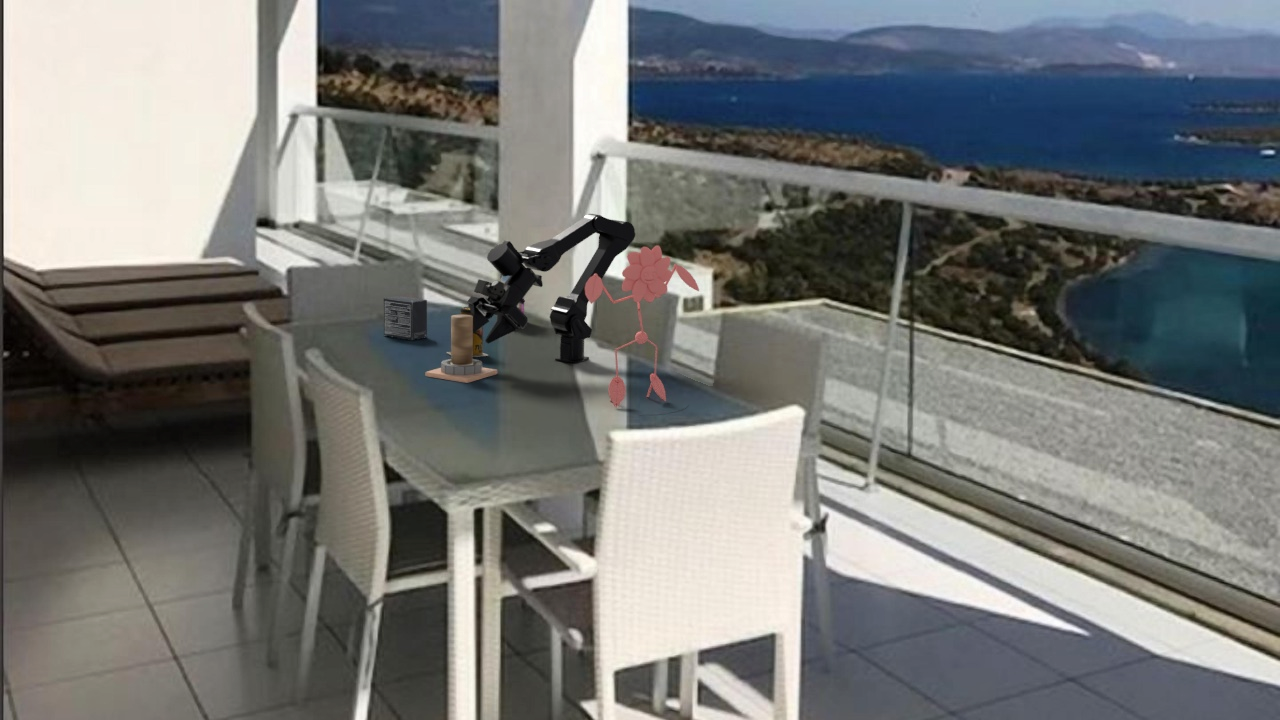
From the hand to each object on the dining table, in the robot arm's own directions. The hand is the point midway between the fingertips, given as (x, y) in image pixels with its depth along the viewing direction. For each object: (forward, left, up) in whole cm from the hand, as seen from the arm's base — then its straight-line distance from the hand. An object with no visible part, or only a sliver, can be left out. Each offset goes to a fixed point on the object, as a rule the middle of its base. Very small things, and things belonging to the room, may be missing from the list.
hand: (476, 339), depth 305 cm
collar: (+4, -1, -8) cm, 9 cm away
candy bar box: (-58, -29, -8) cm, 66 cm away
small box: (-25, -41, -8) cm, 49 cm away
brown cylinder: (+4, -1, -7) cm, 8 cm away
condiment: (-16, -14, -8) cm, 23 cm away
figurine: (+6, +49, -8) cm, 50 cm away
